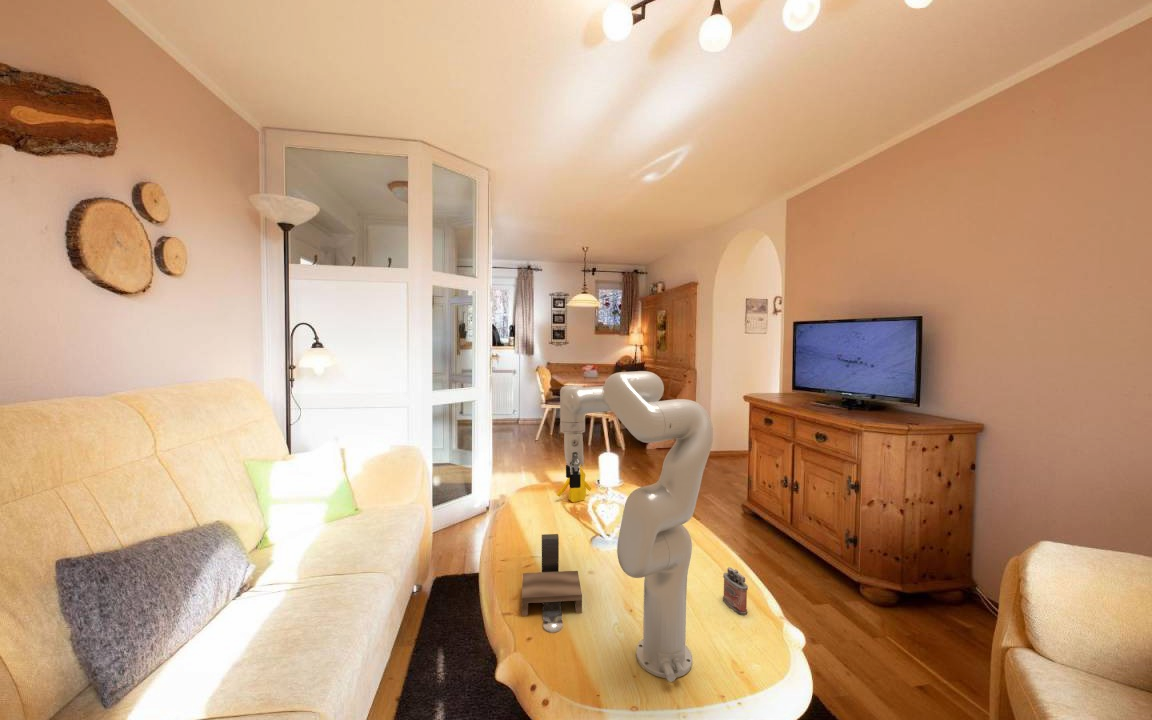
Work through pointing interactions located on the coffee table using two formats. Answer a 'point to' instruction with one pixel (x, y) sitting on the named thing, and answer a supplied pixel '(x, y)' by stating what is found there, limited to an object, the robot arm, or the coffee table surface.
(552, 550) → the pusher tool
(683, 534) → the robot arm
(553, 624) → the steel token
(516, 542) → the coffee table surface
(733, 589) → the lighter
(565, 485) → the figure statuette
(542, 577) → the low table
